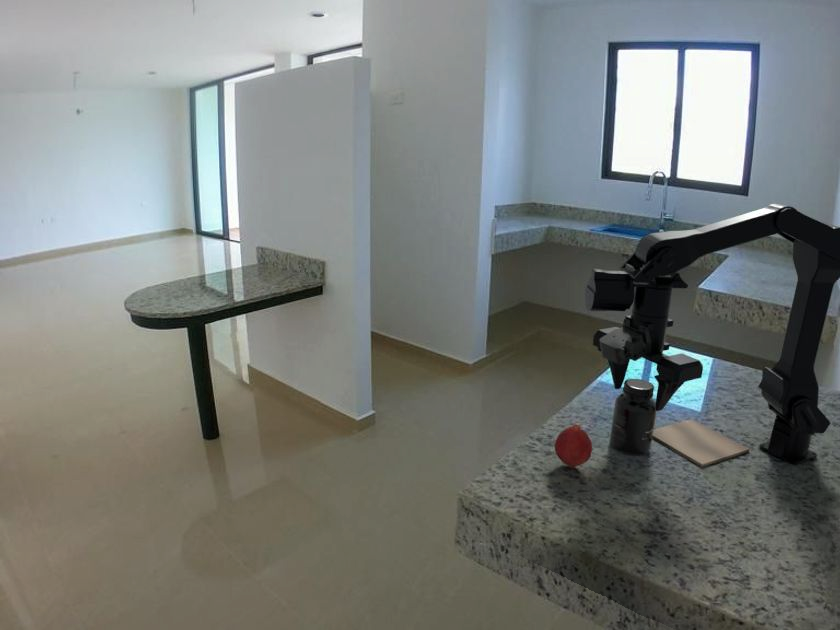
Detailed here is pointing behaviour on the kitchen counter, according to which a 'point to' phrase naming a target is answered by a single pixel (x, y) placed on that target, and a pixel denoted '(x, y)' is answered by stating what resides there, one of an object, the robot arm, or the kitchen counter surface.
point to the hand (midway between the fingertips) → (637, 399)
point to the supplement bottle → (634, 418)
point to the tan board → (698, 442)
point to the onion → (573, 446)
